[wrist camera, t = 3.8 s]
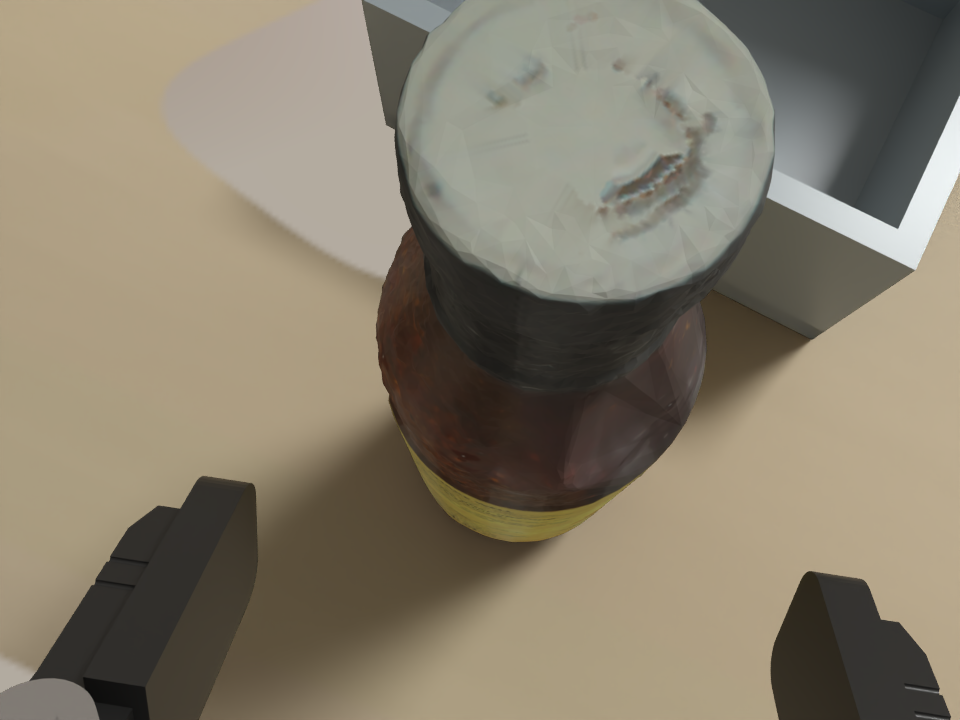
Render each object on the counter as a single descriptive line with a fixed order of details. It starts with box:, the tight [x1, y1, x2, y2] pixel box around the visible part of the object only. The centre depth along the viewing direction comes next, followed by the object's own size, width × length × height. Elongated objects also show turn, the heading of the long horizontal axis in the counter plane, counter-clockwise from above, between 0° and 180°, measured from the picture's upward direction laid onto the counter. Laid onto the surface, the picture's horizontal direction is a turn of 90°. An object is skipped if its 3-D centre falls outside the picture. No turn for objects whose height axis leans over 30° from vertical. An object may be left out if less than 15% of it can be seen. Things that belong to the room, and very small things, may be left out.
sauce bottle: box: [376, 0, 775, 542], centre depth 19 cm, size 6×6×20 cm
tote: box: [362, 0, 960, 339], centre depth 28 cm, size 16×13×7 cm
